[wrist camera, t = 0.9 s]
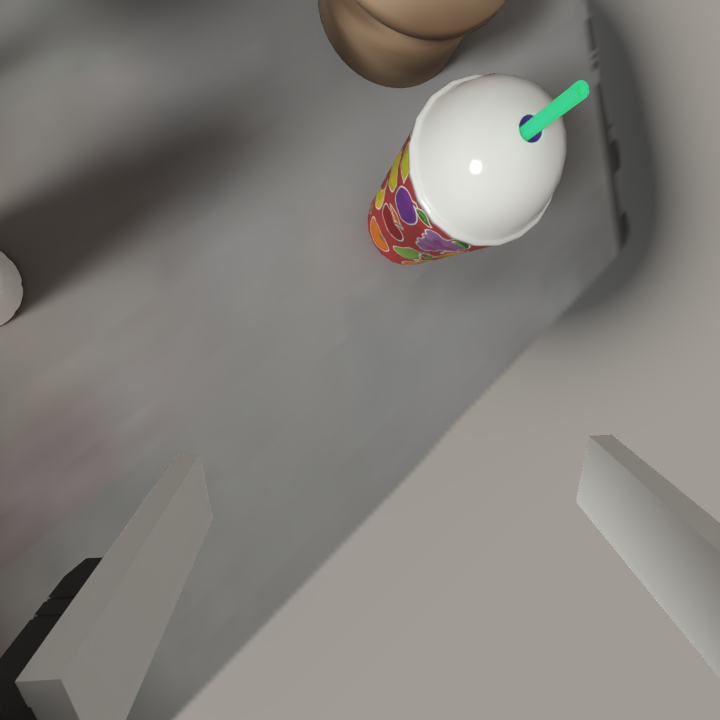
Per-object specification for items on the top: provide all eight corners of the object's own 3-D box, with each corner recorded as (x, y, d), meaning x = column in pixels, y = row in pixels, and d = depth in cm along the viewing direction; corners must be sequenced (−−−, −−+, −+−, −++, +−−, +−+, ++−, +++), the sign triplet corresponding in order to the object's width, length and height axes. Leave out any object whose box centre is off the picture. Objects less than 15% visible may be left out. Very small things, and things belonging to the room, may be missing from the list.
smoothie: (458, 195, 34) (703, 21, 14) (434, 287, 34) (641, 241, 15) (368, 162, 32) (510, -89, 12) (344, 260, 32) (445, 165, 13)
